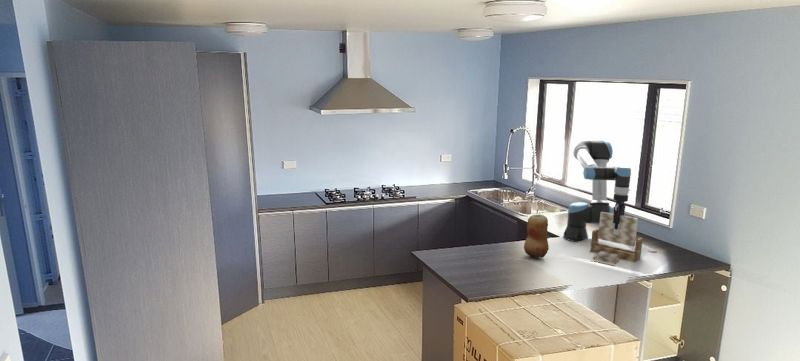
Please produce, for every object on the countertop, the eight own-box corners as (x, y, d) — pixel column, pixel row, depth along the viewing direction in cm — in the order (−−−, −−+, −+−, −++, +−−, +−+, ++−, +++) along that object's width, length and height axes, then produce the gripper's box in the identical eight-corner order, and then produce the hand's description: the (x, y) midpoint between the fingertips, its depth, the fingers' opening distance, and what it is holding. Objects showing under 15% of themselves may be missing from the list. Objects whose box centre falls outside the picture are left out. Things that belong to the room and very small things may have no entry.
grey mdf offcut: (597, 257, 284) (597, 253, 284) (600, 255, 289) (600, 251, 289) (613, 261, 279) (614, 257, 278) (616, 258, 283) (617, 254, 283)
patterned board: (597, 238, 299) (600, 212, 296) (599, 238, 300) (602, 211, 298) (633, 246, 286) (636, 219, 283) (634, 245, 287) (637, 218, 284)
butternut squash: (518, 257, 289) (521, 214, 285) (530, 252, 299) (533, 211, 295) (541, 263, 280) (544, 219, 276) (552, 257, 290) (555, 215, 285)
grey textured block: (592, 262, 286) (593, 257, 285) (597, 259, 291) (597, 254, 290) (614, 267, 278) (615, 262, 277) (618, 264, 283) (619, 259, 283)
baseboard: (638, 253, 303) (656, 253, 305) (639, 249, 303) (657, 248, 305) (609, 238, 333) (626, 238, 335) (609, 234, 333) (626, 234, 335)
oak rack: (588, 254, 298) (590, 231, 296) (596, 249, 307) (598, 228, 305) (634, 264, 281) (637, 241, 279) (641, 259, 290) (644, 237, 288)
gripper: (623, 197, 280) (618, 238, 284) (632, 193, 291) (628, 232, 295) (609, 194, 284) (605, 235, 289) (619, 191, 296) (615, 229, 300)
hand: (616, 233), depth 292 cm, fingers closed on patterned board, 2 cm apart
